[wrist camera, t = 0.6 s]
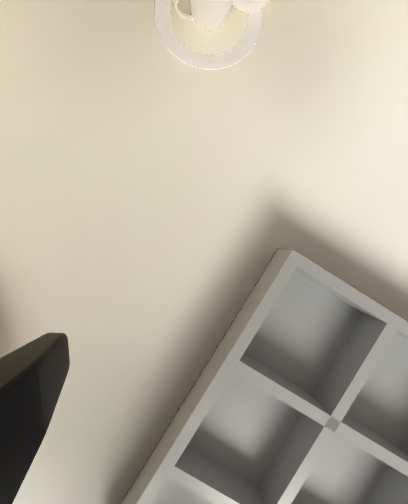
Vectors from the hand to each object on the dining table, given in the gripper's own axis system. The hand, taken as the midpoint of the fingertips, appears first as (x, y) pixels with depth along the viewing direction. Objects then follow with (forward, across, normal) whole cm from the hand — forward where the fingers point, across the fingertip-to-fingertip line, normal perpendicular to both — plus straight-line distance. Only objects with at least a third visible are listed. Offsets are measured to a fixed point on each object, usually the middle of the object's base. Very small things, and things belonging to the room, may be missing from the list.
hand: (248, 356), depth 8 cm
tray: (+11, -6, +16) cm, 20 cm away
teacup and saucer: (+21, -2, -12) cm, 24 cm away
